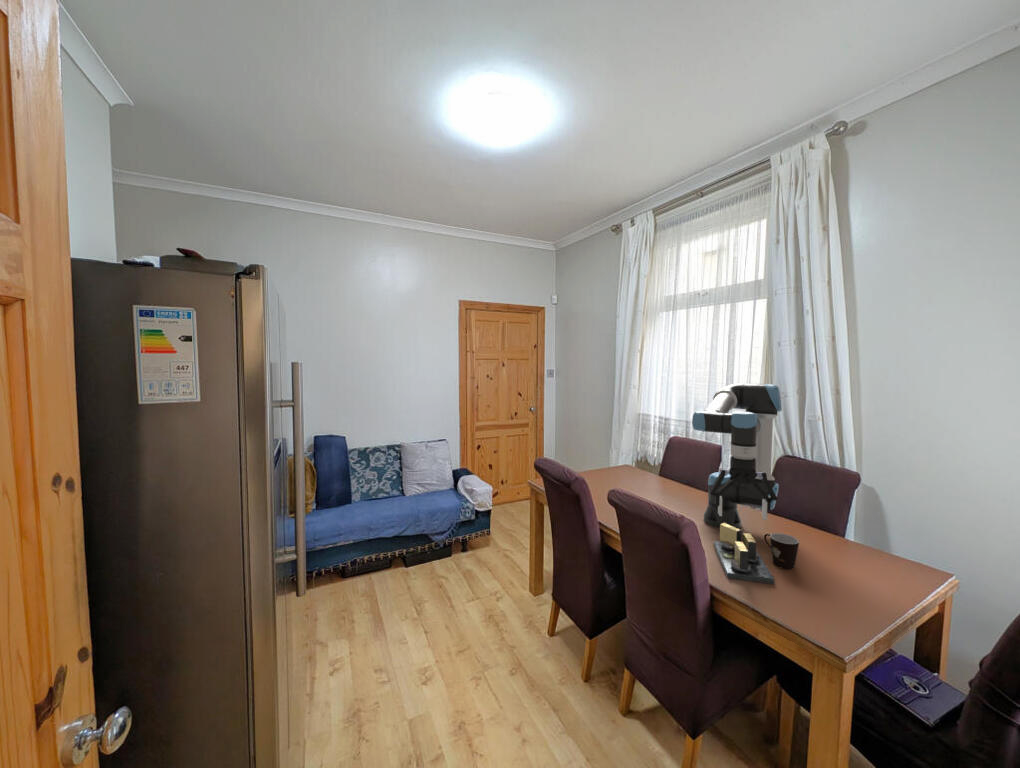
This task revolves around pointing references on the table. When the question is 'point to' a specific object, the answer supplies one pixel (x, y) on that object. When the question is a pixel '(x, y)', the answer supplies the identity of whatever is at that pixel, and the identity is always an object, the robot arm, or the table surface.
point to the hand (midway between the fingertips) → (741, 516)
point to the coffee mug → (783, 550)
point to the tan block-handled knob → (729, 536)
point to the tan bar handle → (741, 558)
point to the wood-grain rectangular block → (750, 548)
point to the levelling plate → (756, 575)
